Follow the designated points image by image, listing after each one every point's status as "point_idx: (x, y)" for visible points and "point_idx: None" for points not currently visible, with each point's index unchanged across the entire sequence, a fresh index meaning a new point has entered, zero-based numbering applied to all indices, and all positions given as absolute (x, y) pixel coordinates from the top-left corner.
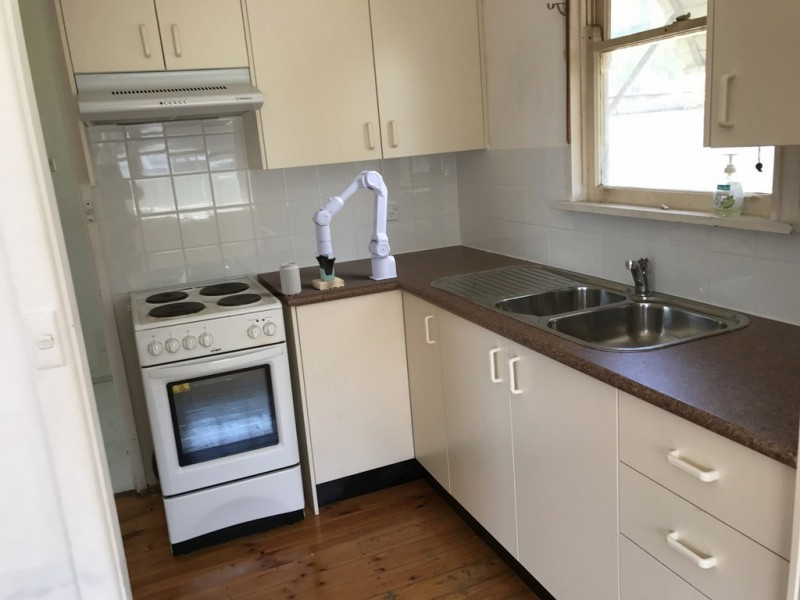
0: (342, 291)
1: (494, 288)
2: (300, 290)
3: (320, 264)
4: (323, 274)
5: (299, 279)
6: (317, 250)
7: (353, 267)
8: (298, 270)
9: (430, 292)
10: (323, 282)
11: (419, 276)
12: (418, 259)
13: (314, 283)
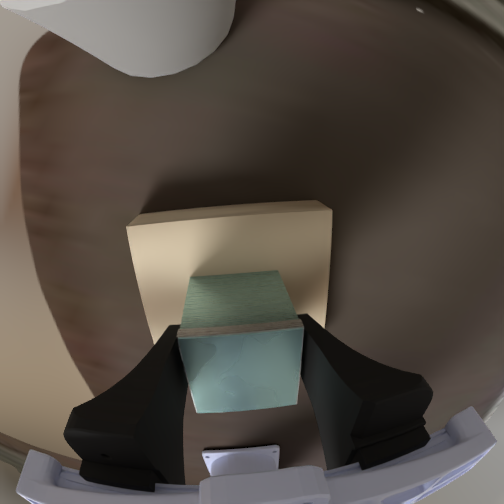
0: (52, 310)
1: None
2: (116, 68)
3: (325, 362)
4: (191, 307)
5: (85, 48)
6: (483, 447)
7: (465, 396)
8: (35, 20)
9: (9, 438)
10: (169, 264)
11: None
12: None
13: (273, 208)
